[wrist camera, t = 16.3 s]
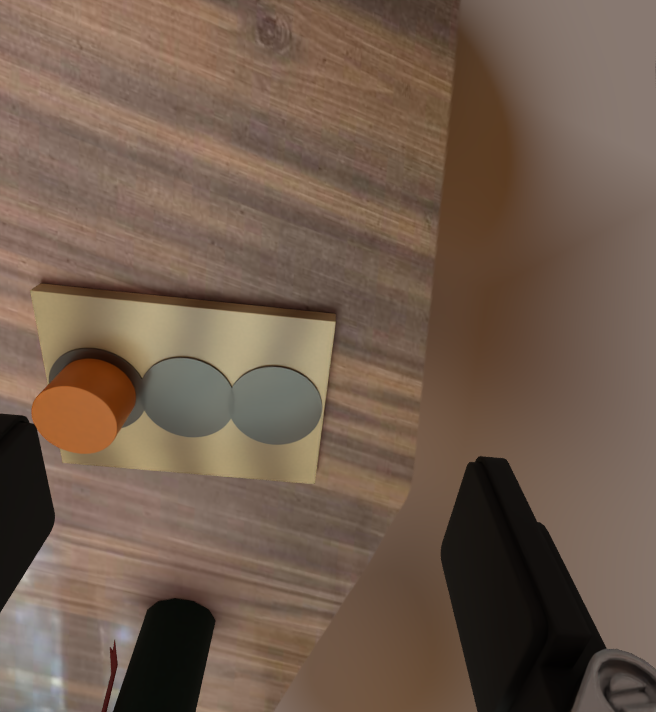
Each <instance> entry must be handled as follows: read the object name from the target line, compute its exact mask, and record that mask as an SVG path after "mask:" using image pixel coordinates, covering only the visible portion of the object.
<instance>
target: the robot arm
mask: <svg viewBox="0 0 656 712" xmlns="http://www.w3.org/2000/svg"><path fill="white" fill-rule="evenodd" d="M54 521H55V512H54V508H53V503H52V498H51V494H50V489H49V484H48V480H47V475H46V470H45V465H44V461H43V456H42V451H41V447H40V442H39V437H38V432H37V428H36V426H35V425H34V424H32V423H29V420H28V419H27V417H25V416H22V415H11V414H0V612H1V610H2V609H3V607H4V606H5V604H6V602H7V601H8V599H9V598H10V596H11V594H12V593H13V591H14V590H15V588H16V586H17V585H18V583H19V582H20V580H21V579H22V577H23V575H24V574H25V572H26V571H27V569H28V567H29V566H30V564H31V563H32V561H33V559H34V558H35V556H36V555H37V553H38V551H39V550H40V548H41V547H42V545H43V543H44V542H45V540H46V539H47V537H48V536H49V534H50V532H51V530H52V528H53V525H54ZM441 561H442V566H443V570H444V574H445V578H446V582H447V587H448V591H449V595H450V599H451V603H452V608H453V612H454V616H455V620H456V624H457V628H458V632H459V637H460V641H461V645H462V648H463V653H464V657H465V662H466V666H467V670H468V674H469V678H470V682H471V686H472V690H473V695H474V699H475V703H476V707H477V711H478V712H656V669H655V668H654V667H653V666H651V665H650V664H649V663H648V662H646V661H645V660H643V659H641V658H639V657H637V656H635V655H633V654H632V653H629V652H625V651H622V650H618V649H606V647H605V644H604V642H603V640H602V638H601V636H600V634H599V632H598V630H597V628H596V626H595V624H594V622H593V620H592V618H591V616H590V614H589V612H588V610H587V608H586V606H585V604H584V603H583V600H582V598H581V596H580V594H579V592H578V590H577V588H576V586H575V584H574V582H573V580H572V578H571V576H570V574H569V572H568V570H567V568H566V566H565V564H564V562H563V560H562V558H561V556H560V554H559V552H558V550H557V548H556V546H555V544H554V542H553V540H552V538H551V536H550V534H549V532H548V531H547V529H546V528H545V526H544V525H543V524H541V523H540V522H537V521H536V519H535V516H534V514H533V512H532V510H531V508H530V506H529V504H528V502H527V500H526V498H525V496H524V494H523V492H522V490H521V488H520V486H519V483H518V481H517V479H516V477H515V475H514V473H513V471H512V469H511V467H510V465H509V463H508V461H507V460H506V459H504V458H493V457H482V456H480V457H478V458H477V459H476V461H475V462H469V463H468V465H467V467H466V470H465V473H464V477H463V480H462V483H461V486H460V489H459V492H458V495H457V498H456V502H455V505H454V508H453V511H452V514H451V517H450V520H449V524H448V526H447V530H446V533H445V536H444V539H443V542H442V546H441Z"/></svg>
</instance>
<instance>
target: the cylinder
mask: <svg viewBox="0 0 656 712" xmlns="http://www.w3.org/2000/svg"><path fill="white" fill-rule="evenodd" d="M135 402H136V393H135V389H134V386H133V384H132V382H131V381H130V379H129V378H128V377H127V375H126V374H125V373H124V372H123V371H121V370H120V369H119V368H117V367H116V366H114V365H112V364H110V363H108V362H105V361H102V360H99V359H89V358H87V359H80V360H76V361H73V362H71V363H69V364H68V365H67V366H66V367H65V368H64V369H63V370H62V371H61V372H60V373H59V374H58V375H57V376H56V377H55V378H54V379H53V380H52V381H51V382H50V383H49V384H48V385H47V387H46V388H45V389H44V390H43V391H42V392H41V393H40V394H39V395H38V396H37V397H36V399H35V400H34V402H33V405H32V419H33V422H34V424H35V426H36V428H37V430H38V431H39V432H40V434H41V435H42V436H43V437H44V438H45V439H46V440H48V441H49V442H50V443H52V444H53V445H55V446H57V447H58V448H61V449H63V450H66V451H69V452H73V453H79V454H90V453H96V452H99V451H101V450H103V449H105V448H107V447H108V446H109V445H110V444H111V443H112V442H113V441H114V439H115V438H116V436H117V434H118V433H119V431H120V429H121V428H122V426H123V425H124V423H125V421H126V420H127V418H128V416H129V415H130V413H131V411H132V410H133V408H134V406H135Z"/></svg>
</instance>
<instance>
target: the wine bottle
mask: <svg viewBox="0 0 656 712" xmlns="http://www.w3.org/2000/svg"><path fill="white" fill-rule="evenodd" d="M214 625H215V619H214V617H213V616H212V614H211V613H210V611H209V609H207V608H205V607H203V606H201V605H200V604H198V603H196V602H194V601H188V600H182V599H176V598H175V599H169V600H164V601H159V602H157V603H156V604H154V605H153V606H152V607H151V608H149V609H148V610H147V613H146V616H145V618H144V621H143V624H142V627H141V630H140V633H139V636H138V639H137V642H136V645H135V648H134V651H133V654H132V657H131V660H130V663H129V666H128V669H127V672H126V675H125V678H124V681H123V684H122V687H121V690H120V693H119V695H118V698H117V701H116V704H115V707H114V710H113V712H196V707H197V703H198V698H199V694H200V689H201V684H202V680H203V675H204V671H205V666H206V662H207V657H208V653H209V648H210V643H211V639H212V634H213V630H214ZM110 659H111V676H110V680H109V684H108V688H107V692H106V696H105V700H104V704H103V708H102V712H107V708H108V704H109V699H110V695H111V691H112V687H113V682H114V678H115V674H116V670H117V665H118V663H117V654H116V645H115V640H114V647H113V650H112V649H111V647H110Z"/></svg>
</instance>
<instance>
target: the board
mask: <svg viewBox="0 0 656 712" xmlns="http://www.w3.org/2000/svg"><path fill="white" fill-rule="evenodd" d="M30 293H31V298H32V303H33V309H34V314H35V319H36V324H37V330H38V335H39V340H40V346H41V351H42V356H43V362H44V367H45V372H46V377H47V383H48V384H49V383H50V382H51V381H52V380H53V379H54V378H55V377H56V376H57V375H58V374H59V373H60V372H61V371H62V370H63V369H64V368H65V367H66V366H67V365H68V364H69V363H71V362H73V361H76V360H80V359H87V358H89V359H99V360H102V361H105V362H108V363H110V364H112V365H114V366H116V367H117V368H119V369H120V370H121V371H123V372H124V373H125V374H126V375H127V377H128V378H129V379H130V381H131V382H132V384H133V386H134V389H135V393H136V402H135V406H134V408H133V410H132V411H131V413H130V415H129V416H128V418H127V420H126V421H125V423H124V425H123V426H122V428H121V429H120V431H119V433H118V434H117V436H116V438H115V439H114V441H113V442H112V443H111V444H110V445H109V446H108V447H107V448H105V449H103V450H101V451H99V452H96V453H90V454H79V453H73V452H69V451H66V450H63V449H61V448H60V452H61V457H62V462H63V463H71V464H83V465H94V466H106V467H118V468H130V469H142V470H154V471H166V472H177V473H189V474H201V475H213V476H225V477H237V478H249V479H260V480H272V481H284V482H296V483H308V484H315V478H316V470H317V462H318V455H319V447H320V440H321V432H322V424H323V417H324V409H325V402H326V394H327V386H328V379H329V371H330V364H331V356H332V348H333V341H334V333H335V325H336V314H333V313H323V312H313V311H303V310H294V309H284V308H274V307H265V306H255V305H245V304H236V303H226V302H216V301H207V300H197V299H187V298H177V297H168V296H158V295H148V294H139V293H129V292H119V291H110V290H100V289H90V288H81V287H71V286H61V285H51V284H42V283H41V284H39V285H38V286H36V287H35V288H33V289H32V290H30Z"/></svg>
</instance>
